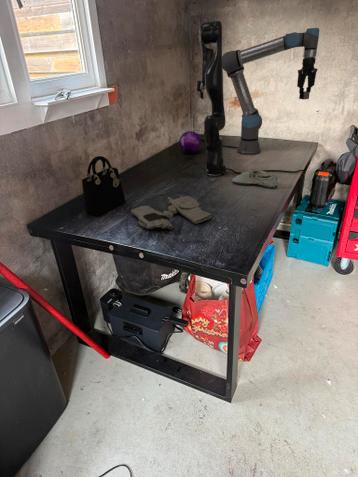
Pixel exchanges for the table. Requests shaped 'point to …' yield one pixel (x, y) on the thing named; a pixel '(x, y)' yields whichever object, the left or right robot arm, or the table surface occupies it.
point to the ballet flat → (256, 179)
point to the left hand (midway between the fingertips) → (208, 98)
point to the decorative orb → (190, 142)
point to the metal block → (306, 95)
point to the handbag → (102, 188)
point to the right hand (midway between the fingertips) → (303, 98)
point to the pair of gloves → (170, 213)
